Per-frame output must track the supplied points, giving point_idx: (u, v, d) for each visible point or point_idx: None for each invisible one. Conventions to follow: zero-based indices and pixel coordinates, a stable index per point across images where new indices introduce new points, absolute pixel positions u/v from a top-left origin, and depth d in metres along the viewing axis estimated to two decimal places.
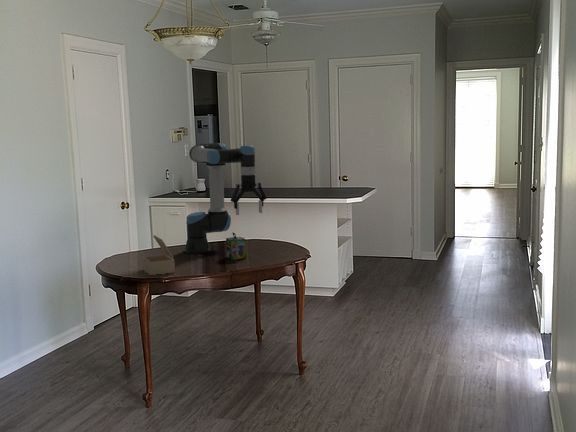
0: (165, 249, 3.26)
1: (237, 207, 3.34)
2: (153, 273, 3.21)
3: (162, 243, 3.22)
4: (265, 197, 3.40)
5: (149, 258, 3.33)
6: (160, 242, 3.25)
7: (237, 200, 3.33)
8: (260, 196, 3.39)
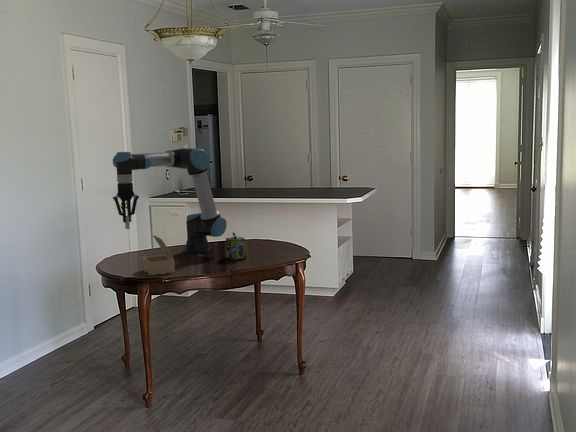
0: (165, 249, 3.26)
1: (126, 221, 3.17)
2: (153, 273, 3.21)
3: (162, 243, 3.22)
4: (133, 212, 3.18)
5: (149, 258, 3.33)
6: (160, 242, 3.25)
7: (124, 213, 3.16)
8: (130, 210, 3.17)
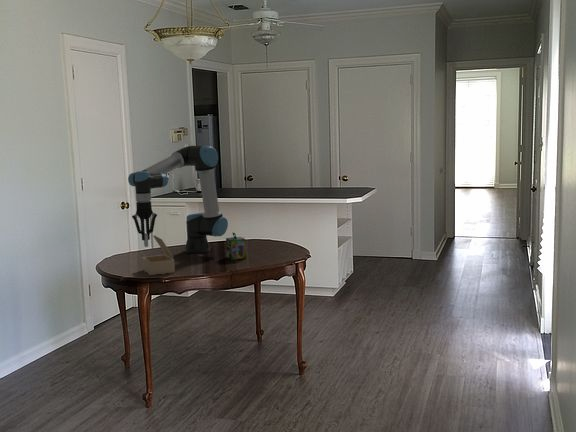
0: (165, 249, 3.26)
1: (145, 239, 3.23)
2: (153, 273, 3.21)
3: (162, 243, 3.22)
4: (152, 230, 3.24)
5: (149, 258, 3.33)
6: (160, 242, 3.25)
7: (143, 231, 3.22)
8: (148, 228, 3.23)
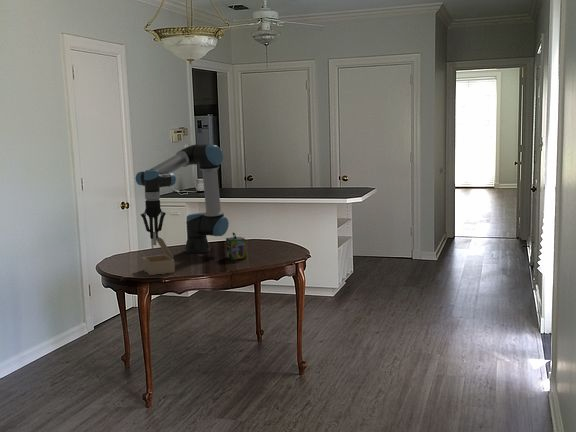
0: (165, 249, 3.26)
1: (153, 237, 3.25)
2: (153, 273, 3.21)
3: (162, 243, 3.22)
4: (160, 228, 3.26)
5: (149, 258, 3.33)
6: (160, 242, 3.26)
7: (152, 229, 3.24)
8: (157, 226, 3.25)
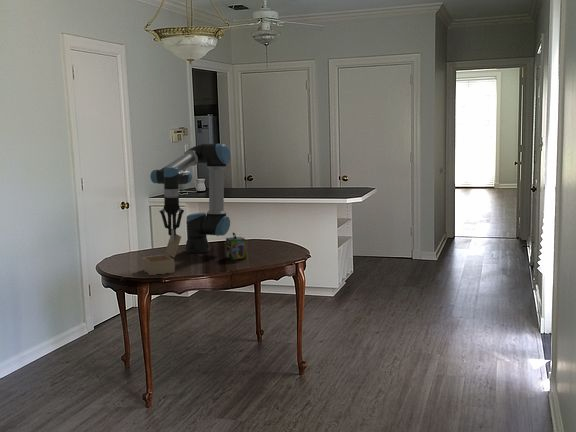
0: (173, 247, 3.28)
1: (171, 234, 3.29)
2: (153, 273, 3.21)
3: (178, 239, 3.26)
4: (178, 225, 3.30)
5: (149, 258, 3.33)
6: (175, 238, 3.29)
7: (170, 226, 3.28)
8: (175, 223, 3.29)
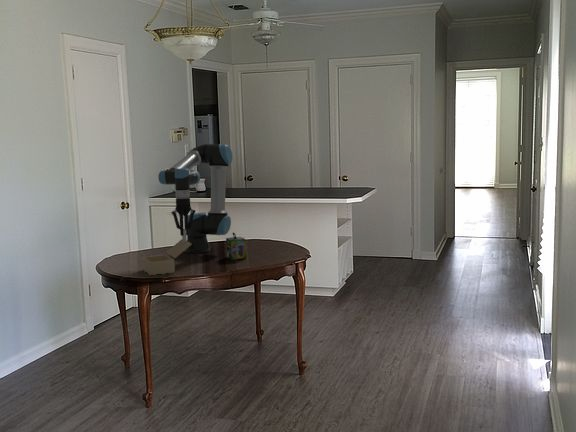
0: (179, 250, 3.30)
1: (183, 234, 3.32)
2: (153, 273, 3.21)
3: (187, 245, 3.28)
4: (190, 226, 3.33)
5: (149, 258, 3.33)
6: (184, 244, 3.32)
7: (182, 227, 3.31)
8: (187, 224, 3.32)
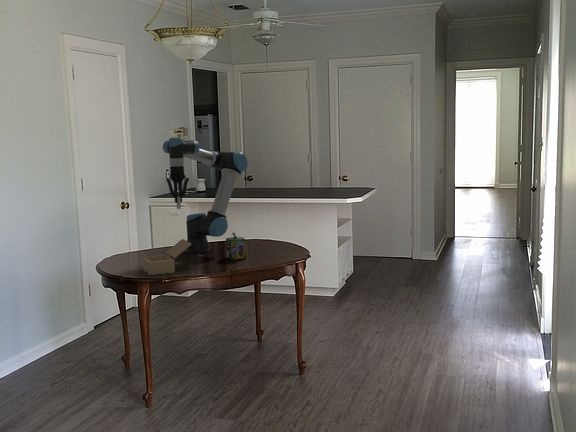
0: (179, 250, 3.30)
1: (177, 201, 3.44)
2: (153, 273, 3.21)
3: (187, 245, 3.28)
4: (184, 193, 3.45)
5: (149, 258, 3.33)
6: (184, 244, 3.32)
7: (176, 194, 3.43)
8: (181, 191, 3.44)
